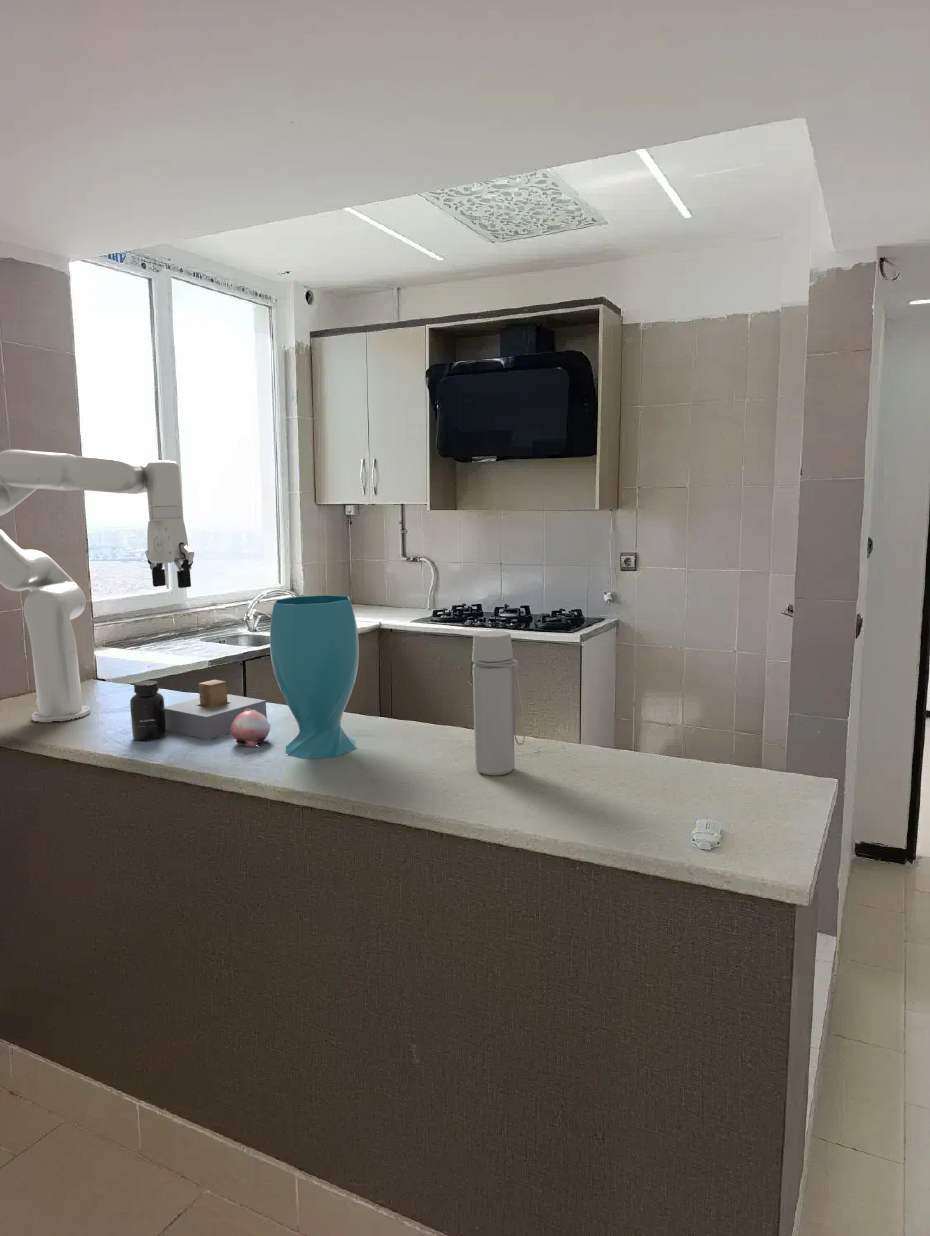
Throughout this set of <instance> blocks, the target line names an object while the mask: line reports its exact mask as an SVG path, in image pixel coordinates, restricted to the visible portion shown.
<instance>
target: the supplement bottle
mask: <svg viewBox="0 0 930 1236" xmlns="http://www.w3.org/2000/svg"><path fill="white" fill-rule="evenodd" d="M159 689H160V687H159V682H158V681H156V680H143V681H142V680H141V681H137V682H135V683H134V684H133V693H135V694H134V695H133V696H132V697H131V698H130V701H129V703H130V704H129V705H130V718H131V719H130V720H131V722H130V723H131V732H132V733H131V734H132V738H133V740H134V741H138V742H148V741H156V740H161V739H162V738H164V737H165V736H166V734H167V730H166V721H165V707H166V706H165V697H164V695H163V694H162V693H159V692H158V691H159Z"/></svg>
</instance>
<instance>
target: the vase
mask: <svg viewBox="0 0 930 1236" xmlns="http://www.w3.org/2000/svg"><path fill="white" fill-rule="evenodd" d="M357 625H358V624H357V620H356V616H355V611H354V607H353V604H352V601H351V599H350V596H349V595H331V594H327V595H326V594H324V595H306V596H305V595H301V596H294V597H293V596H292V597H286V598H280V599H275V600H274V603H273V606H272V611H271V620H270V627H269V628H270V629H269V630H270V631H269V648H270V659H271V665H272V671H273V674H274V677H275V679H276V683H277V685H278V688H279V690H280V692H281V695H282V697H283V699H284V700H285V703H286V704H287V707H288V708H289V710H290V712H291V713H292V715H293V717H294V719H295V721H296V724H297V726H298V734H297V735H296V736H295V737H294V738H293V740H291V741H290V742H289V743H288V744H286V746H285V753H284V755H285V754H288V755H287V756H289V755H291V756H290V757H294V756H295V757H294V758H298V759H299V758H300V759H305V760H311V759H312V760H314V759H321V758H322V759H324V758H325V759H326V758H334V757H335V758H336V757H339V756H342V755H344V754H346V753H349V752H351V751H354V750H356V749H357V745H356V740H355V739H353V738H351V737H350V736H348V735H347V734H346V732H345V731H344V730H343V728H342V725H341V723H342V718H343V715H344V712H345V710H346V707H347V704H348V703H349V700H350V697H351V696H352V693H353V689H354V685H355V683H356V680H357V674H358V668H359V662H360V661H359V660H360V643H359V642H360V641H359V630H358V626H357ZM341 754H342V755H341Z"/></svg>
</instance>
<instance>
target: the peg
mask: <svg viewBox="0 0 930 1236" xmlns="http://www.w3.org/2000/svg"><path fill="white" fill-rule="evenodd" d="M227 690H228V689H227V682H226V680H219V679H212V680H211V679H210V680H207V681H203V682H199V683H198V693H199V698H200V706H201V707H207V708H215V707H219V706H222V705H226V704H228V701H227V694H228V691H227Z"/></svg>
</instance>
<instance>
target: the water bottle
mask: <svg viewBox="0 0 930 1236" xmlns="http://www.w3.org/2000/svg"><path fill="white" fill-rule="evenodd" d="M511 636H512V635H511V633H510V632H508V631H503V630H489V631H488V630H487V631H486V630H485V631H479V632H475V633H473V637H472V639H473V641H472V655H471V661H472V663H473V664H472V692H473V694H472V696H473V726H474V727H473V732H474V759H475V761H474V762H475V763H474V764H475V768H476V770H477V772H478V773H480V774H483V775H485V776H494V777H495V776H496V777H497V776H503V775H507V774H510V773H511V772H512V771H513V769H515V767H516V765H515V764H516V763H515V761H516V760H515V742H516V744H517V745H518V746H523V745H524V743H525V740H526V739H525V738H526V737H525V736H526V726H525V720H524V713H523V712H524V711H523V705H522V698H521V691H520V690H521V689H520V684H519V677H518V676H519V675H518V666H519V661H518V660H516V659H514V654H513V645H512V637H511ZM512 662H514V663H512ZM513 667H514V671H515V677H514V674H513V673H514V671H513ZM514 678H515V679H514ZM514 680H515V681H514ZM514 683H515V685H514ZM514 688H515V689H514ZM517 688H518V696H519V703H520V711H521V716H522V717H521V719H522V725H523V726H522V727H523V739H522V742H519V741H518V739H517Z"/></svg>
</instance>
